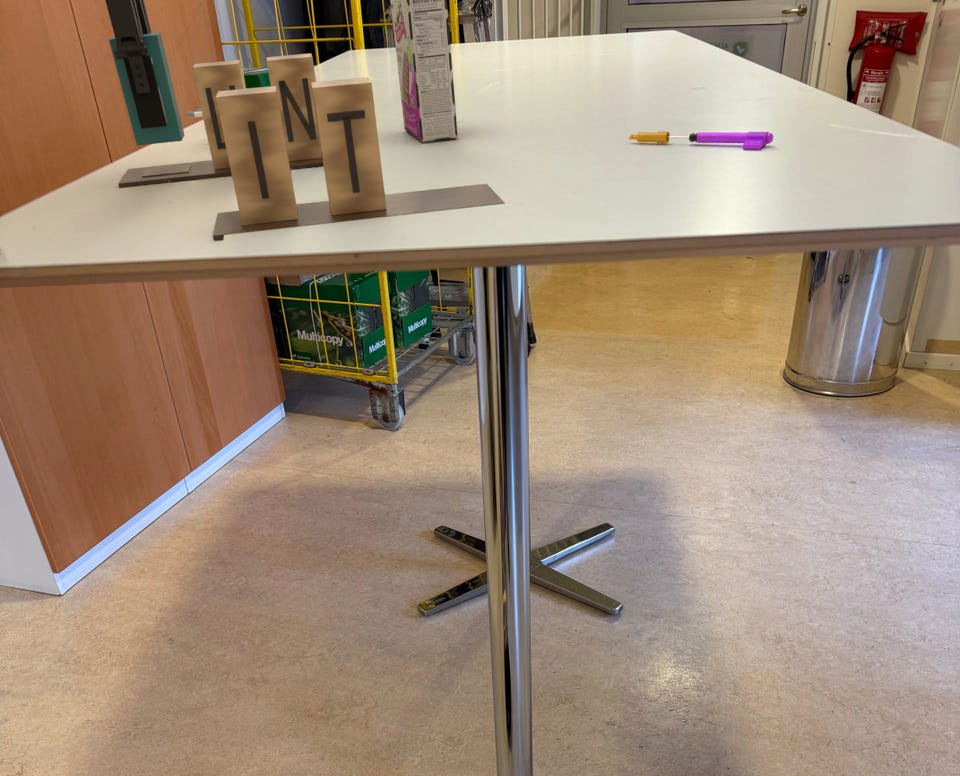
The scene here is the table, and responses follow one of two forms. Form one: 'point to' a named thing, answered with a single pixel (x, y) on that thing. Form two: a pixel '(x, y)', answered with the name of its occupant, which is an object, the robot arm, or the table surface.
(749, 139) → the marker pen
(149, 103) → the robot arm
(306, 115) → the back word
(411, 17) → the candy bar box
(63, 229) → the table surface
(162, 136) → the teal rectangular slab
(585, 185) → the table surface
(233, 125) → the front word
